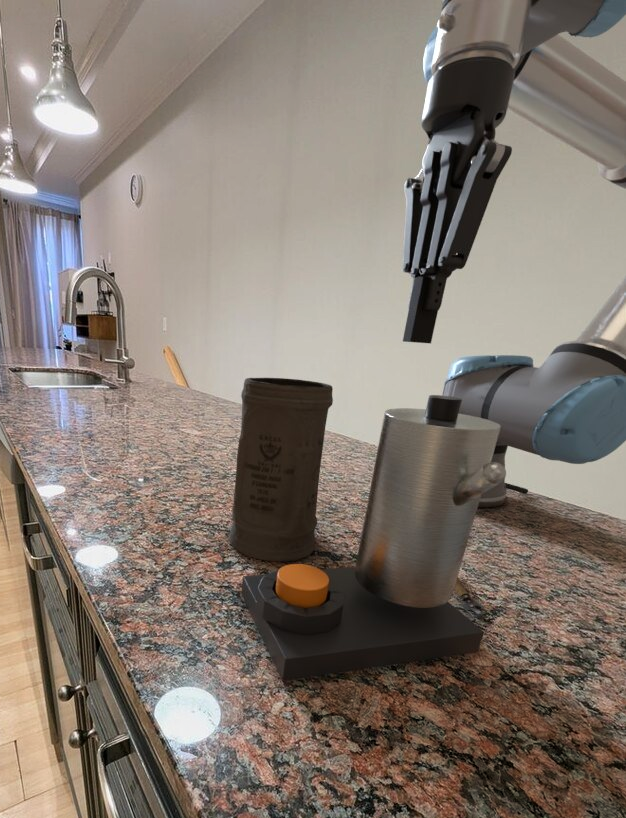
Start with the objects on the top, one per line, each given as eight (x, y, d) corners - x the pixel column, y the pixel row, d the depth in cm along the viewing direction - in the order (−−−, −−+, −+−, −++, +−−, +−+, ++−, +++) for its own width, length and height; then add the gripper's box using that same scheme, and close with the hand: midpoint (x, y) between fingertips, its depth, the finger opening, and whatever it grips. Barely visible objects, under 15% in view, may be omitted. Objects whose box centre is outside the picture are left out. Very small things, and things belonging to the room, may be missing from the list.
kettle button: (313, 578, 41) (316, 561, 40) (335, 605, 37) (338, 587, 37) (268, 582, 40) (270, 565, 39) (286, 610, 36) (288, 592, 35)
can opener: (441, 577, 51) (444, 568, 51) (463, 579, 51) (465, 571, 50) (464, 624, 43) (467, 614, 42) (489, 628, 43) (493, 618, 42)
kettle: (398, 543, 49) (433, 387, 42) (500, 623, 36) (572, 416, 30) (326, 548, 46) (352, 383, 40) (407, 635, 34) (464, 413, 27)
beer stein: (311, 572, 49) (339, 385, 43) (218, 557, 51) (231, 375, 45) (317, 527, 64) (338, 382, 57) (243, 516, 65) (256, 374, 59)
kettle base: (398, 580, 49) (405, 548, 48) (477, 652, 39) (490, 614, 37) (239, 595, 44) (242, 559, 43) (280, 682, 34) (286, 639, 32)
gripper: (396, 96, 47) (358, 338, 55) (491, 22, 35) (424, 343, 44) (456, 110, 49) (410, 342, 57) (565, 45, 37) (486, 347, 46)
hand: (416, 342), depth 51 cm, fingers closed
